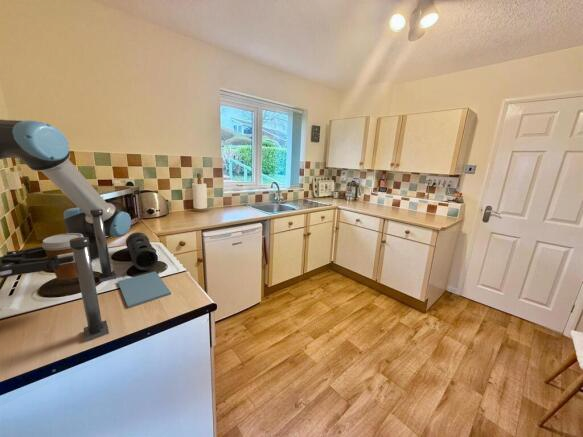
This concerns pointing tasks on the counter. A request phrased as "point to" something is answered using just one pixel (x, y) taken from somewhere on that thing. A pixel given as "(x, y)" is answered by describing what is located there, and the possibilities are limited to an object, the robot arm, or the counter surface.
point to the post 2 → (102, 246)
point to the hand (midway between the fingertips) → (87, 249)
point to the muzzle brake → (141, 251)
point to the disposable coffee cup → (59, 247)
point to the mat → (143, 289)
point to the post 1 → (88, 289)
